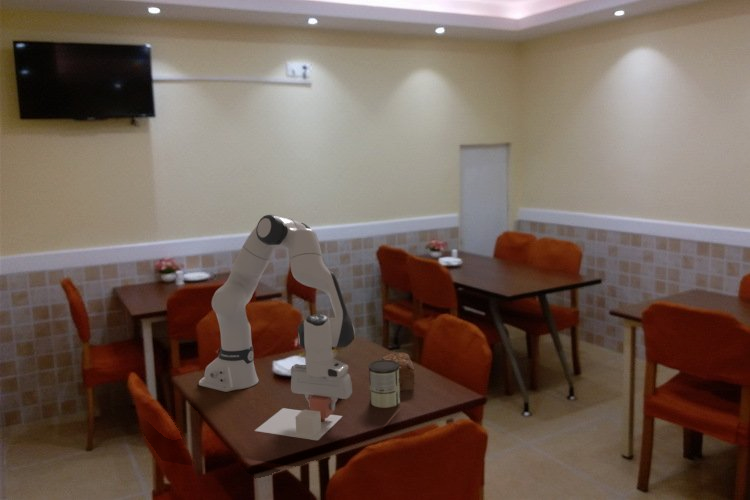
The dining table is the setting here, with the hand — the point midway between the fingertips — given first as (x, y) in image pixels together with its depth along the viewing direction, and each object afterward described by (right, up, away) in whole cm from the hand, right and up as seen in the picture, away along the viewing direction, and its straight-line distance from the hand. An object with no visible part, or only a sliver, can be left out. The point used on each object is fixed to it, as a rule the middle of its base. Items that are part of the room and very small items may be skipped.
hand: (322, 408), depth 208 cm
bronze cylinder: (0, -4, +1) cm, 4 cm away
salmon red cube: (0, -2, 0) cm, 2 cm away
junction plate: (-7, -6, -1) cm, 9 cm away
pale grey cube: (-3, -6, -8) cm, 10 cm away
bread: (+25, +1, +34) cm, 42 cm away
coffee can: (+20, -2, +14) cm, 25 cm away
